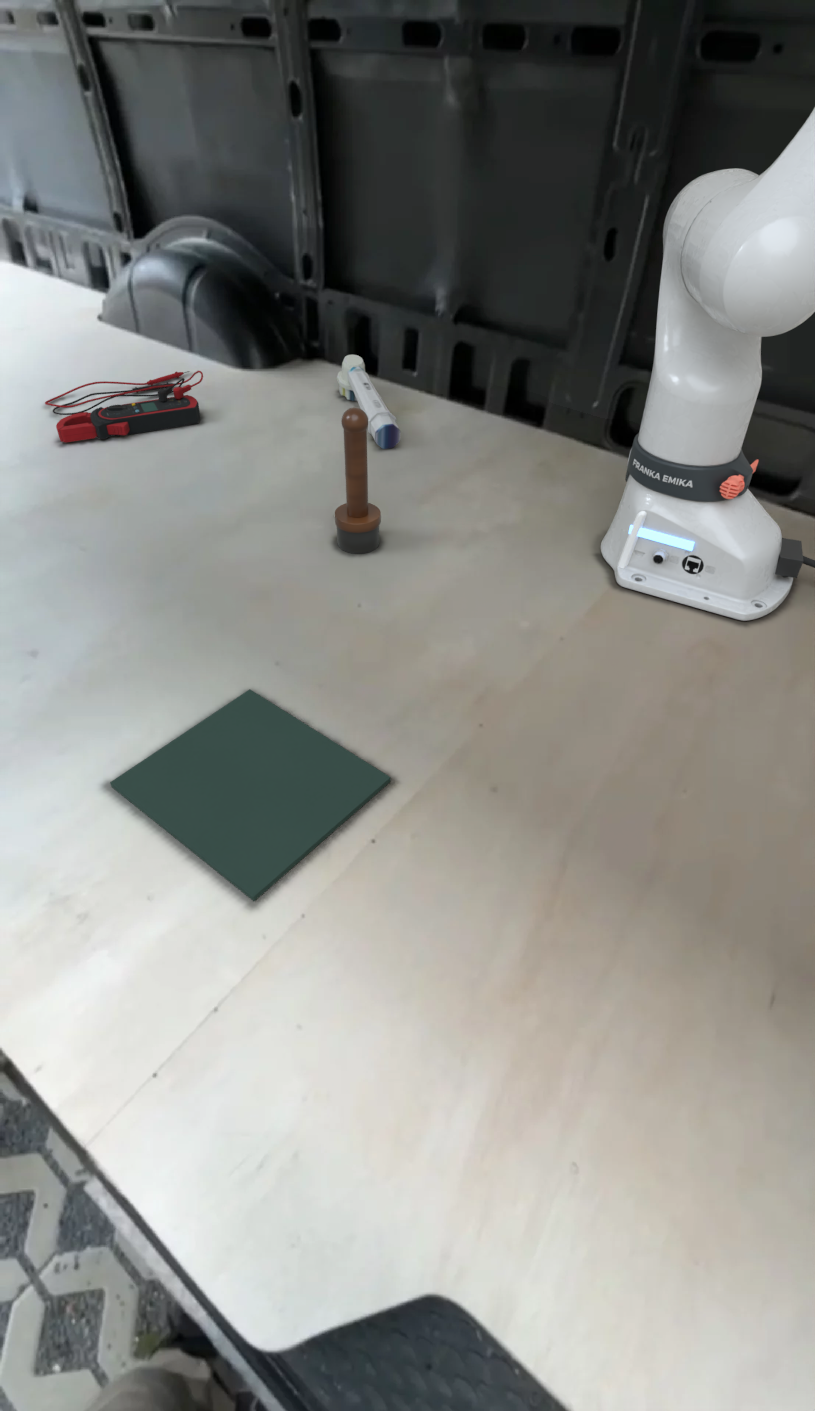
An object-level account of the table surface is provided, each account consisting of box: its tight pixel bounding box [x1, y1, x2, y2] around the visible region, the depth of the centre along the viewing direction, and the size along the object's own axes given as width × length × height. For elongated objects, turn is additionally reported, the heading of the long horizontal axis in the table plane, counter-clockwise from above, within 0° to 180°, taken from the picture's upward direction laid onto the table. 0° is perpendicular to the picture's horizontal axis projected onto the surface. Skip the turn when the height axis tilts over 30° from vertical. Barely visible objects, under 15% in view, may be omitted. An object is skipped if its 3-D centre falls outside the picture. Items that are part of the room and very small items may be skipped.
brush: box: [334, 406, 382, 555], centre depth 93 cm, size 6×6×17 cm
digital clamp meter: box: [44, 370, 204, 443], centre depth 127 cm, size 23×4×25 cm
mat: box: [109, 689, 392, 902], centre depth 68 cm, size 18×16×1 cm
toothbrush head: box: [336, 354, 401, 450], centre depth 126 cm, size 5×7×25 cm
